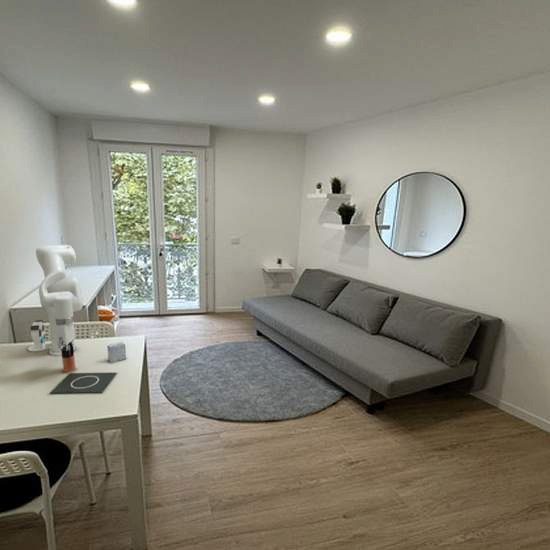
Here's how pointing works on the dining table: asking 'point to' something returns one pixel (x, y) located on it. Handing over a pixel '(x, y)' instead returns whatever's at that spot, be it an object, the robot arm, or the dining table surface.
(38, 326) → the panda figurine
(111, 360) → the medicine box
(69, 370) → the pen cup
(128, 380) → the dining table surface
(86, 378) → the slate board
